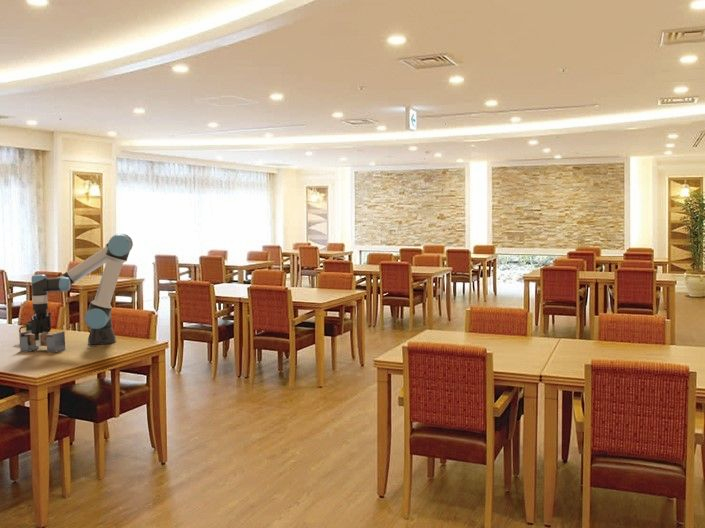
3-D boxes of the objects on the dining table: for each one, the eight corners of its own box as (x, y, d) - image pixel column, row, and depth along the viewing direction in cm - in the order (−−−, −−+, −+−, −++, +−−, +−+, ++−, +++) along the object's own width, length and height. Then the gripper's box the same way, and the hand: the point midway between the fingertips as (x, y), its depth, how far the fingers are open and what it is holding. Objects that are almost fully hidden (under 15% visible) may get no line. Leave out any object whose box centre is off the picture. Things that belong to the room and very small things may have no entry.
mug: (47, 342, 403) (46, 322, 402) (19, 345, 397) (18, 324, 396) (47, 339, 413) (46, 319, 412) (20, 342, 407) (18, 321, 406)
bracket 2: (65, 349, 382) (64, 331, 381) (55, 352, 374) (54, 334, 373) (57, 348, 383) (56, 331, 382) (47, 352, 375) (46, 333, 374)
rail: (58, 344, 380) (58, 333, 380) (52, 346, 375) (52, 335, 375) (30, 343, 385) (30, 332, 384) (24, 345, 380) (23, 334, 379)
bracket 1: (38, 348, 386) (37, 330, 385) (28, 351, 378) (27, 333, 377) (31, 348, 387) (30, 330, 386) (20, 351, 379) (19, 333, 378)
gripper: (45, 300, 388) (47, 341, 390) (22, 305, 370) (24, 348, 372) (56, 300, 386) (59, 342, 388) (34, 305, 369) (36, 348, 370)
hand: (42, 344), depth 380 cm, fingers open, 5 cm apart
